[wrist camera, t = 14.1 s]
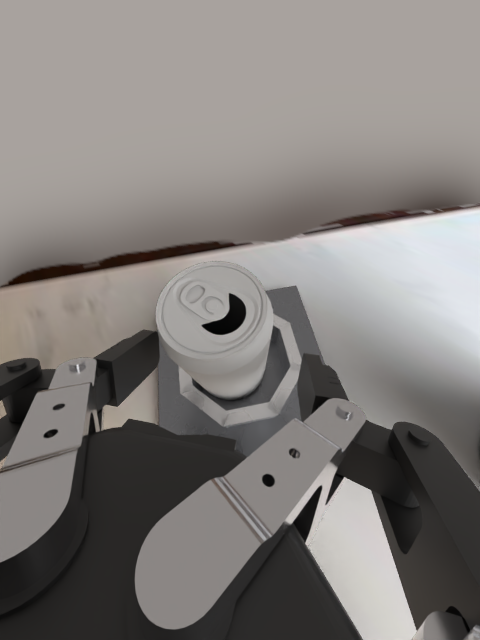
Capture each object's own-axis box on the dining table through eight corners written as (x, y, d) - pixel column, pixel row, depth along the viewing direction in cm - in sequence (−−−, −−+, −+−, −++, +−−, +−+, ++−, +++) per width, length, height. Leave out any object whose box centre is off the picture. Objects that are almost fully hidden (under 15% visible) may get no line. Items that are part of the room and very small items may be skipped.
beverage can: (238, 416, 20) (223, 398, 9) (185, 374, 22) (119, 318, 11) (277, 358, 22) (300, 289, 11) (225, 325, 24) (203, 238, 13)
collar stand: (294, 290, 26) (302, 265, 22) (348, 441, 19) (373, 444, 15) (160, 315, 26) (143, 294, 22) (164, 480, 19) (140, 494, 15)
